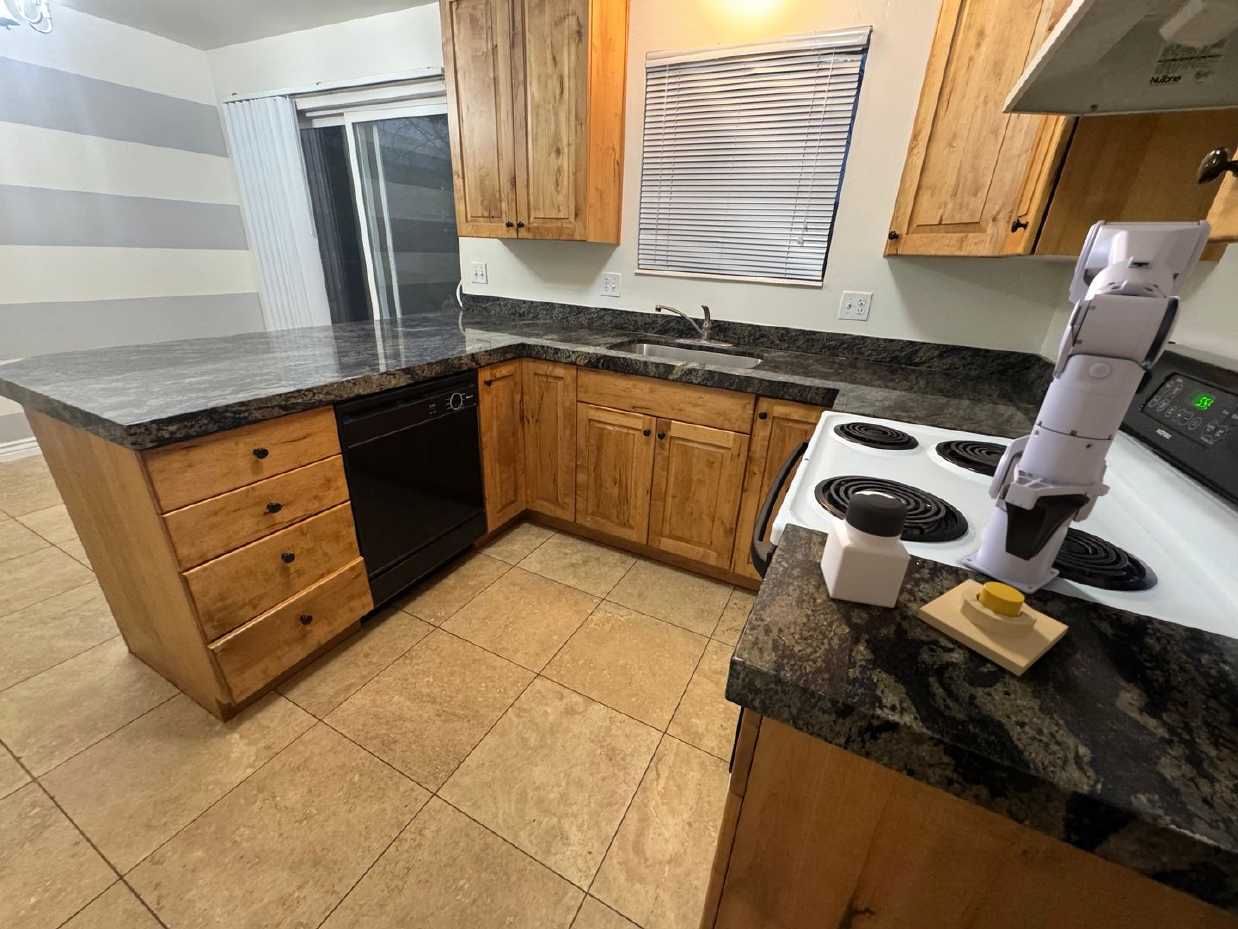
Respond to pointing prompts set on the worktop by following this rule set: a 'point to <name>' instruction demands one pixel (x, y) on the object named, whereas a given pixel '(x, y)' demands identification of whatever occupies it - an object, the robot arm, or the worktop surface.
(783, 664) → the worktop surface
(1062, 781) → the worktop surface
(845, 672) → the worktop surface
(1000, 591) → the button
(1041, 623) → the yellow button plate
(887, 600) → the medicine bottle
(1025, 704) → the worktop surface
